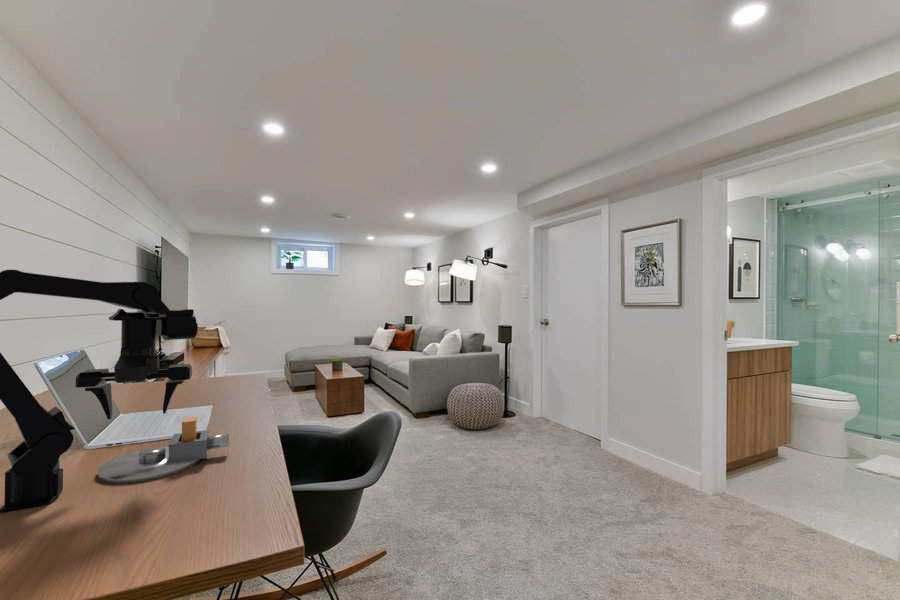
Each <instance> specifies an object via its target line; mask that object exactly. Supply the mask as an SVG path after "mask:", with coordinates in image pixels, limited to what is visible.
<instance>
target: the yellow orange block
mask: <svg viewBox="0 0 900 600" xmlns="http://www.w3.org/2000/svg"><path fill="white" fill-rule="evenodd" d="M197 421H198V420H197V416H192V417H191V416H190V417H184V418H183V419H182V421H181V433H182V441H188V440H195V439H196V431H197Z"/></svg>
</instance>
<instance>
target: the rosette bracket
mask: <svg viewBox="0 0 900 600" xmlns="http://www.w3.org/2000/svg"><path fill="white" fill-rule="evenodd" d="M209 434H210V429H204V430H196V439H195V440H188V441H182V432H180V433H174V434H173V435H172V437H171V440H170V443H169V444H168V446H156V447H150V448H144V449H143V450H139V451H138V450H137V451H133V452H130V453H127V454H124V455H121V456H118V457H116V458H112V459H111V460H109V461H107V462H105V463H103V464H102V465H101V466H99V467H98V470H97V478H98V480H99V481H101V482H104V483H110V484H129V483H128V482H131V483H137V482H136V481H140V482H144V480H146V481H150V480H149V479H151V480H156V479H160V478H164V477H168V476H171V475H174V474H177V473H180V472H182V471H184V469H185V470H187V469H189V468H190V467H193V466H194V465H196V464H197V463H198V462H200V460H202V459H206V458H207V457H208V454H209V453H208V452H209V451H211V450H218V449H222V448H223V449H224V448H229V445H230V444H229V443H230V442H229V441H230V439H229V437H230V434H229V433H224V434H216V436H209ZM186 468H187V469H186ZM179 471H180V472H179ZM170 474H171V475H170ZM167 475H168V476H167ZM155 478H156V479H155Z"/></svg>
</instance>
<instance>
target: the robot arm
mask: <svg viewBox="0 0 900 600" xmlns="http://www.w3.org/2000/svg"><path fill="white" fill-rule="evenodd" d="M16 293H19V294H30V295H39V296H51V297H57V298H58V297H61V298H69V299H80V300H82V299H83V300H89V301H99V302H102V303H106V304H110V305H112V306H116V307H120V308H119V309H117V311H116V312H115V313H113V314H112V315H110V316H109V317H108V320H109V321H114V322H115V321H118V322H119V321H121V329H120V330H121V342H120V346H121V347H120V354H119V357H118V360H117V361H116V363H115V366H114V367H113V368H114V371H110V370H109V368H96V369H93V368H92V369H86V370H83V371H80V372H79V373H78V374H77V375H76V376H75V388H78V389H79V388H84V391H85V392H91V393H93V394H94V395H95V398H97V399H98V401H99V403H100V405H101V408H102V410H103V412H104V413H105V417H106V418H107V420H111V419H112V417H113V397H112V382H115V383H117V384H125V383H127V382H129V383H130V382H136V383H138V382H139V383H140V382H144V381H146V380H147V379H161V378H167V379H168V380H166V382H165V390H164V391H165V392H164V397H163V404H162V414H163V415H165V414H166V413H167V411H168V408H169V406H170V403H171V400H172V397H173V395H174V392H175V391H176V389H177V387H178V385H183V384H184V382H185V381H186V380H190V379H191V378H192V376H193V366H192V364H190V363H183V364H181V363H180V364H171V365H169V366H168V367H167V368H160V366H161V365H160V357H159V354H158V355H156V337H157V336H159V337H161V338H162V340H163V341H171V340H172V341H175V340H192V339H193V340H194V339H195V338H196V337H197V334H198V328H199V326H198V323H197V318H196V316H195V315H194V314H195V313H194V312H195V311H194V309H191V308H190V309H187V308H186V309H179V310H177V309H176V310H174V309H172V310H170V309H169V307H168V305H166V304H165V303H164V302H163V300H162V299H161V298H160V292H159V289H158V288H157V287H156V286H155V285H154V284H152V283H151V282H147V281H116V282H115V281H111V282H106V281H102V282H101V281H94V280H86V279H79V278H71V277H63V276H56V275H48V274H40V273H33V272H24V271H20V270H18V269H5V270H2V271H0V301H2V300H4V299H5V298H7V297H9V296H11V295H13V294H16ZM124 308H125V309H129V310H130V309H131V310H141V311H139V312H134V311H133V312H127V311H126V310H124ZM145 314H150V315H151V314H152V315H158V316H150V317H149V316H148V317H147V316H146V315H145ZM156 334H157V336H156ZM0 402H1V403H2V404H3V405H4V406H5V408H6V409H7V410H8V412H9V413H10V414H11V415H12V417H13V418H14V421H15V422H16V426H17V428H18V430H19V432H20V434H21V436H22V439H23V441H22V442H20V443H19V444H18V445H17V446H16V447H14V449H12V450H11V451H10V452H9V453H8V454H7V458H8V461H9V464H10V465H11V468H9V469H8V470H6V471H5V472H4V496H3V497H4V498H3V499H4V502H3V503H4V504H3V505H2V506H0V513H1V512H8V511H14V510H19V509H26V508H32V507H36V506H37V507H38V506H45V505H48V504H51V503H52V502H53V501H54V500H55V499H56V498H57V497H58V495H59V494H60V493H61V492H62V491H63V490H64V469H63V468H62V467H61V468H60V457H61V455H63V454H64V453H66V452H68V450H69V449H70V448H71V446H72V444H73V442H74V435H73V432H72V431H74V430H75V429H76V428H75V427H74V426H73V424H71V423H70V422H69V421H67V420H66V418H65V415H64V413H63V411H62V410H61V409H60V408H59V407H57V406H54V407H52V408H51V409H49V410H47V409H46V408H45V407H44V406H42V405H41V404H40V403H39V401H38V400H37V399H36V397H35V396H34V395H33V393H32V392H31V391H30V389H29V388H28V387H27V386H26V384H25V383H24V382H23V380H22V379H21V378H20V376H19V375H18V374H17V372H15V370H14V369H13V367H12V366H11V365H10V363H9V362H8V361H7V360H6V358H5V356H4V355H3V354H2V353H1V352H0Z"/></svg>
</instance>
